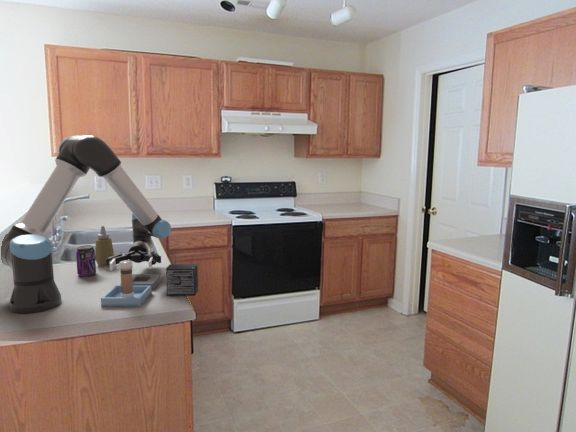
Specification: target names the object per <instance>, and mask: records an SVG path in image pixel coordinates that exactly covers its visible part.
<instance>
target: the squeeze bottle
mask: <svg viewBox="0 0 576 432" xmlns="http://www.w3.org/2000/svg"><path fill="white" fill-rule="evenodd" d="M100 227H101V228H100V233H99V234H97V239H96V240H95V249H94V250H95V263H96V264H97V266H98V267H101V268H102V267H103V268H105V267H110V266H109V265H106V258H109V257H111V256H114V255H115V252H114V248H113V247H114V246H113V240H112V239H111V238H110V234H109V233H107V231H106V228H105V225H101V226H100Z"/></svg>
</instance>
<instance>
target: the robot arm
mask: <svg viewBox="0 0 576 432" xmlns="http://www.w3.org/2000/svg"><path fill="white" fill-rule="evenodd" d="M54 161H55V164H56V166H55V167H54V169H53V171H52V173H51V174H50V176H49V178H48V179H47V181H46V182H45V184H44V185H43V187H42V188H41V190H40V192H39V193H38V195H37V196H36V197H35V199H34V201H33V203H32V204H31V206H30V207H29V208H28V210H27V212H26V214H25V215H24V217H23V219H21V221H20V222H18V223H15V224H13V225H12V226H11V228H10V230H9V231H8V233H6V234H4V235H5V237H4V239H3V241H2V246H1V260H2V262H1V263H2V264H3V265H5V266H8V267H9V268H11V269H12V281H13V289H12V292H11V296H10V300H9V310H10V312H12V313H17V314H33V313H37V312H38V313H39V312H43V311H48V310H51V309H54V308H55V307H57V306H59V305H60V304H61V303H62V293H60V290H59V288H58V285H57V283H56V282H55V279H54V278H55V275H54V264H53V254H52V253H53V247H52V244H51V243H52V242H51V240H50V238H48V237H47V236H46V232H47V231H48V230H49V228H50V226H51V225H52V223H53V222H54V220H55V218H56V216H57V215H58V213H59V212H60V210H61V208H62V207H63V205H64V203H65V201H66V199H67V198H68V197H69V195H70V193H71V191H72V190H73V188H74V187H75V185H76V183H77V182H78V180H79V179H80V178H83V177H85V176H86V175H87V173H88V172H89V171H90V169H91V170H92V171H93V172H94V173H96V174H97V176H98V177H100V178H103V179H104V180H105V181H106V183H108V185H109V186H110V187H111V189H112V190H113V191H114V192H115V193H116V195H117V196H118V197H119V198H120V199H121V201H122V202H123V204H125V205H126V207H127V209H129V211H130V212H131V224H132V225H131V226H132V227H131V229H132V241H133V242H132V243H133V244H132V245H131V247H130V248H129V250H128V252H126V253H123V252H120V251H119V252H118V253H117V254H114V256H111V257H109V258H106V265H109V266H108V267H109V271H110V272H111V271H114V269H115V267H116V265H119V262H121V261H125V260H130V261H132V263H136V264H139V263H143V262H147V264H148V270H151V269H152V267H153V266H155V265H156V264H157V263H158V264H161V263H162V256H161V255H160V254H158V253H156V252H155V251H154V250H153V251H151V250H152V248H153V240H152V237H153V238H156V239H165V238H167V237H169V235H170V234H171V232H172V227H171V224H170V222H168V221H167V220H165V219H163V218H162V217H161V216H160V215H159V214H158V212H157V211H156V210H155V209H154V207H153V205H152V204H151V203H150V202H149V201H148V199H147V198H146V197H145V195H144V194H143V192H141V190H140V189H139V188H138V186H137V185H136V184H135V183H134V181H133V180H132V178H131V177H130V175H128V173H127V172H126V171H125V169H124V168H123V167H122V161H121V160H120V158H119V157H118V156H117V154H116V153H115V152H114V151H113V149H111V147H110V146H109V145H108V144H107V143H106V141H104V140H103V139H102V138H100V137H98V136H95V135H89V134H88V135H82V134H81V135H79V134H78V135H76V134H75V135H70V136H68V137H66V138H64V139H63V140H62V141H61V143H60V145H59V146H58V155H57V156H56V157H55V160H54Z"/></svg>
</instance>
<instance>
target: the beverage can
mask: <svg viewBox="0 0 576 432" xmlns="http://www.w3.org/2000/svg"><path fill="white" fill-rule="evenodd" d="M75 257H76V258H75V260H76V269H77V270H76V271H77V275H78V276H80V277H91V276H93V275H95V274H96V273H97V266H96V264H97V262H96V260H95V249H94V245H90V244H84V245H79V246H77V247H76V250H75Z"/></svg>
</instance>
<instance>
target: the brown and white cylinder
mask: <svg viewBox="0 0 576 432" xmlns="http://www.w3.org/2000/svg"><path fill="white" fill-rule="evenodd" d="M118 265H119V271H120V272H119V273H120V284H121V285H120V286H121V297H134V291H133V281H132V274H133V261H130V260H129V259H128V260H125V261H121V262H119V264H118Z"/></svg>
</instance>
